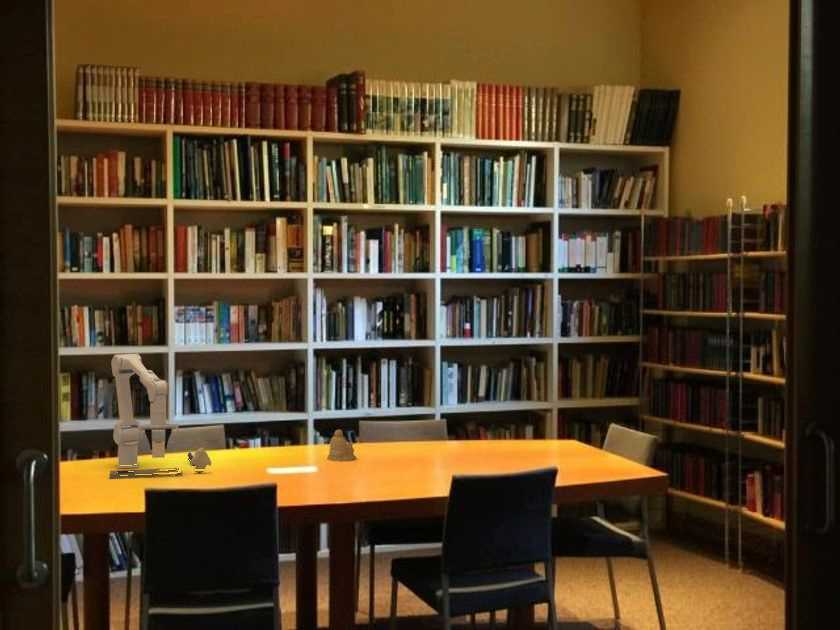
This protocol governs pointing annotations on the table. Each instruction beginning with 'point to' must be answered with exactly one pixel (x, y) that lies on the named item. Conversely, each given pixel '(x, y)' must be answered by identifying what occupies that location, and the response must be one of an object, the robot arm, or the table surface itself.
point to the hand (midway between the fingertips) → (158, 449)
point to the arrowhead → (200, 459)
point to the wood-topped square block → (158, 449)
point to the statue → (340, 449)
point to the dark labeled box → (191, 456)
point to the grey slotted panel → (143, 471)
